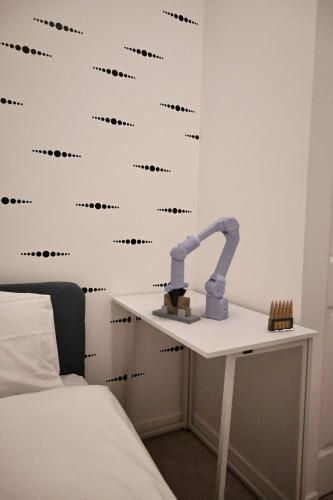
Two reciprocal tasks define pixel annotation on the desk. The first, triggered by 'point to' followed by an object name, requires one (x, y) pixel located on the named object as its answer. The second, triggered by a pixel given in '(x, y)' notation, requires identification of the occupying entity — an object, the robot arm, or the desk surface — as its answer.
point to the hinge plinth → (176, 315)
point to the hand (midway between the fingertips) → (176, 306)
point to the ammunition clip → (281, 316)
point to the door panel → (178, 304)
